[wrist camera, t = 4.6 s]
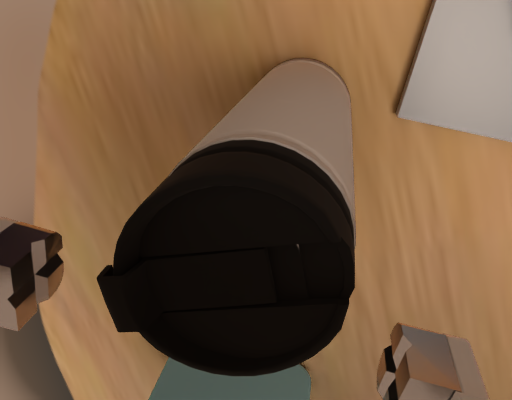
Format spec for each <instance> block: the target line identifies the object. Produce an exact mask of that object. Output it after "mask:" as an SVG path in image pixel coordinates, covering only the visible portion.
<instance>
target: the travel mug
mask: <svg viewBox="0 0 512 400" xmlns="http://www.w3.org/2000/svg"><path fill="white" fill-rule="evenodd" d="M355 245H356V222H355V196H354V170H353V144H352V119H351V100H350V95H349V91H348V89H347V86H346V84H345V82H344V81H343V79H342V78H341V76H340V75H339V74H338V73H337V72H336V71H335V70H334V69H333V68H331V67H330V66H328V65H326V64H325V63H323V62H320V61H317V60H314V59H307V58H299V59H292V60H288V61H285V62H283V63H281V64H279V65H277V66H275V67H274V68H273V69H272V70H271V71H269V72H268V73H267V74H266V75H265V76H264V77H263V78H262V79H261V80H260V81H259V82H258V83H257V84H256V85H255V86H254V87H253V88H252V89H251V90H250V91H249V92H248V93H247V94H246V95H245V96H244V97H243V98H242V99H241V100H240V101H239V102H238V103H237V104H236V105H235V106H234V107H233V109H232V110H231V111H230V112H229V113H228V114H227V115H226V116H225V117H224V118H223V119H222V120H221V121H220V122H219V123H218V124H217V125H216V126H215V127H214V128H213V129H212V130H211V131H210V132H209V133H208V134H207V135H206V136H205V137H204V138H203V139H202V140H201V141H200V142H199V143H198V144H197V145H196V146H195V147H194V148H193V149H192V150H191V151H190V152H189V153H188V154H187V155H186V157H184V158H183V159H182V160H181V161H180V162H179V163H178V164H177V166H176V167H175V168H174V169H173V171H172V172H171V173H170V174H169V176H168V177H167V178H166V179H165V180H164V181H163V182H162V183H161V184H160V185H159V186H158V187H157V189H156V190H155V191H154V192H153V193H152V194H151V195H150V196H149V197H148V198H147V199H146V200H145V201H144V202H143V203H142V204H141V205H140V206H139V207H138V208H137V210H136V211H135V212H134V213H133V215H132V216H131V217H130V218H129V220H128V221H127V222H126V224H125V226H124V228H123V230H122V232H121V234H120V236H119V238H118V241H117V244H116V249H115V254H114V264H113V267H112V265H107V266H106V267H105V268H104V269H103V271H102V272H101V273H100V274H99V275H98V276H97V281H98V284H99V286H100V289H101V292H102V295H103V297H104V300H105V303H106V305H107V308H108V310H109V312H110V314H111V317H112V319H113V321H114V324H115V326H116V328H117V331H118V332H139V333H140V334H141V335H142V336H143V337H144V338H145V339H146V340H147V341H148V342H149V343H150V344H151V345H152V346H154V347H155V348H156V349H157V350H159V351H161V352H162V353H164V354H165V355H167V356H168V357H170V358H171V359H173V360H175V361H178V362H180V363H182V364H184V365H186V366H189V367H191V368H194V369H197V370H201V371H204V372H208V373H212V374H218V375H226V376H258V375H264V374H270V373H276V372H279V371H282V370H285V369H288V368H291V367H294V366H296V365H298V364H300V363H302V362H304V361H305V360H307V359H309V358H311V357H313V356H314V355H315V354H317V353H318V352H319V351H321V350H322V349H323V348H324V347H326V346H327V345H328V344H329V343H330V342H331V341H332V339H333V338H334V337H335V336H336V335H337V333H338V332H339V331H340V330H341V328H342V325H343V322H344V319H345V316H346V312H347V309H348V306H349V298H350V296H351V294H352V292H353V290H354V288H355V254H354V250H355Z"/></svg>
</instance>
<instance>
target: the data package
mask: <svg viewBox="0 0 512 400" xmlns="http://www.w3.org/2000/svg"><path fill="white" fill-rule="evenodd" d="M310 389H311V378H310V375H309V373H308V372H307V371H306V369H305V368H304V367H302V366H301V365H299V364H298V365H296V366H294V367H291V368H288V369H285V370H282V371H279V372H276V373H270V374H264V375H258V376H226V375H218V374H212V373H208V372H204V371H201V370H197V369H194V368H191V367H189V366H186V365H184V364H182V363H180V362H178V361H175V360H173V359H171V358H170V357H169V358H168V360H167V362H166V365H165V367H164V369H163V371H162V373H161V375H160V377H159V379H158V381H157V383H156V385H155V387H154V389H153V391H152V393H151V395H150V397H149V399H148V400H310Z"/></svg>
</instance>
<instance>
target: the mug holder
mask: <svg viewBox="0 0 512 400" xmlns="http://www.w3.org/2000/svg"><path fill="white" fill-rule="evenodd" d="M396 115H397V117H399V118H403V119H408V120H412V121H417V122H422V123H426V124H431V125H435V126H440V127H445V128H449V129H454V130H458V131H463V132H467V133H472V134H477V135H481V136H486V137H490V138H495V139H500V140H504V141H509V142H512V0H433V1H432V4H431V7H430V10H429V14H428V17H427V20H426V23H425V26H424V29H423V32H422V35H421V38H420V41H419V44H418V47H417V50H416V53H415V56H414V59H413V62H412V65H411V68H410V71H409V74H408V77H407V80H406V84H405V87H404V90H403V93H402V96H401V99H400V102H399V105H398V108H397V111H396Z"/></svg>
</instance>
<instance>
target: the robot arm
mask: <svg viewBox="0 0 512 400" xmlns="http://www.w3.org/2000/svg"><path fill="white" fill-rule="evenodd" d="M62 248H63V246H62V236H61V235H60V234H59V233H57V232H54V231H51V230H47V229H44V228H41V227H37V226H34V225H30V224H27V223H23V222H18V221H15V220H12V219H8V218H5V217H0V327H3V328H7V329H11V330H15V331H19V330H20V329H21V328H22V327H23V326H24V325H25V324H26V323H27V321H28V320H29V319H30V318H31V317H32V316H33V315H34V314H35V313H36V312H37V303H40V302H42V301H45V300H48V299H49V298H50V297H51V296H52V295H53V294H54V293H55V292H56V291H57V289H58V287H59V285H60V283H61V281H62V277H63V272H64V264H63V261H62V260H61V258H60V257H59V255H58V254H57V253H58V252H59V251H60V250H61V249H62ZM390 336H391V346H389V347H387V348H385V349H384V351H383V353H382V356H381V358H380V362H379V366H378V371H377V391H378V392H379V394H380V395H381V396H382V398H383V400H490V399H489V396H488V393H487V391H486V388H485V385H484V382H483V379H482V376H481V374H480V371H479V368H478V365H477V362H476V359H475V356H474V354H473V351H472V348H471V345H470V343H469V341H468V340H467V339H464V338H460V337H456V336H452V335H448V334H441V333H437V332H433V331H429V330H425V329H422V328H418V327H414V326H410V325H406V324H402V323H397V324H396V325H395V326H394V328H393V330H392V333H391V335H390Z"/></svg>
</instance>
